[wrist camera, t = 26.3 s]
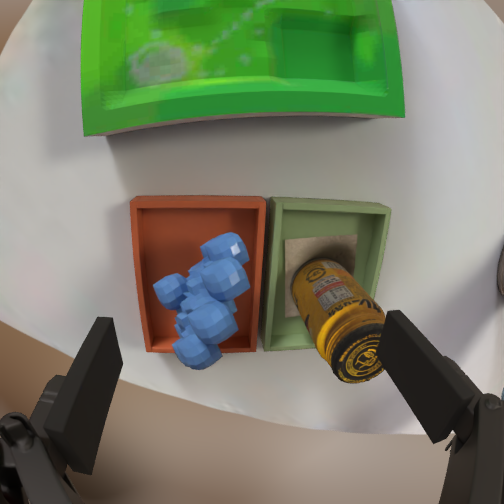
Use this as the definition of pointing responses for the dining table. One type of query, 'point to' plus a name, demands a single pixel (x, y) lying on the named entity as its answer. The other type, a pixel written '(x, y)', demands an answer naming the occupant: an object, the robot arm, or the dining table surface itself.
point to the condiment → (334, 304)
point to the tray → (236, 61)
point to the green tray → (316, 225)
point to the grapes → (206, 300)
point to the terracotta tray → (194, 257)
